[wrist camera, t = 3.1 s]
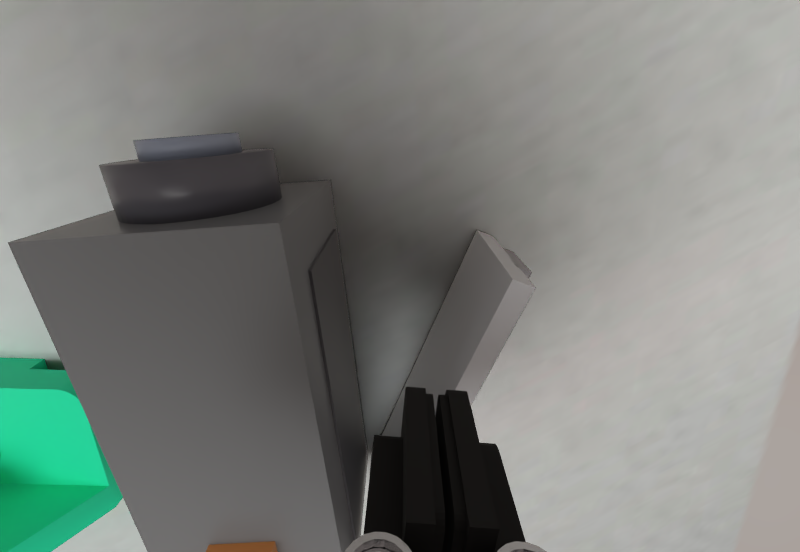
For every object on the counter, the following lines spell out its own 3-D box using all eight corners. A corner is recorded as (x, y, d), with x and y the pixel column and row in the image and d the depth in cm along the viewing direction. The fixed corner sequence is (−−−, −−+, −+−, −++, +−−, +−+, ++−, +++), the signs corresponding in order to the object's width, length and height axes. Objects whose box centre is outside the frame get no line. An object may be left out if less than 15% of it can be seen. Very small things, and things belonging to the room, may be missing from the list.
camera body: (159, 139, 17) (-82, 155, 8) (326, 126, 17) (251, 130, 8) (250, 463, 23) (166, 655, 15) (369, 456, 23) (352, 646, 15)
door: (474, 228, 18) (511, 280, 12) (501, 238, 18) (552, 295, 12) (369, 455, 23) (359, 573, 17) (391, 462, 23) (389, 580, 17)
